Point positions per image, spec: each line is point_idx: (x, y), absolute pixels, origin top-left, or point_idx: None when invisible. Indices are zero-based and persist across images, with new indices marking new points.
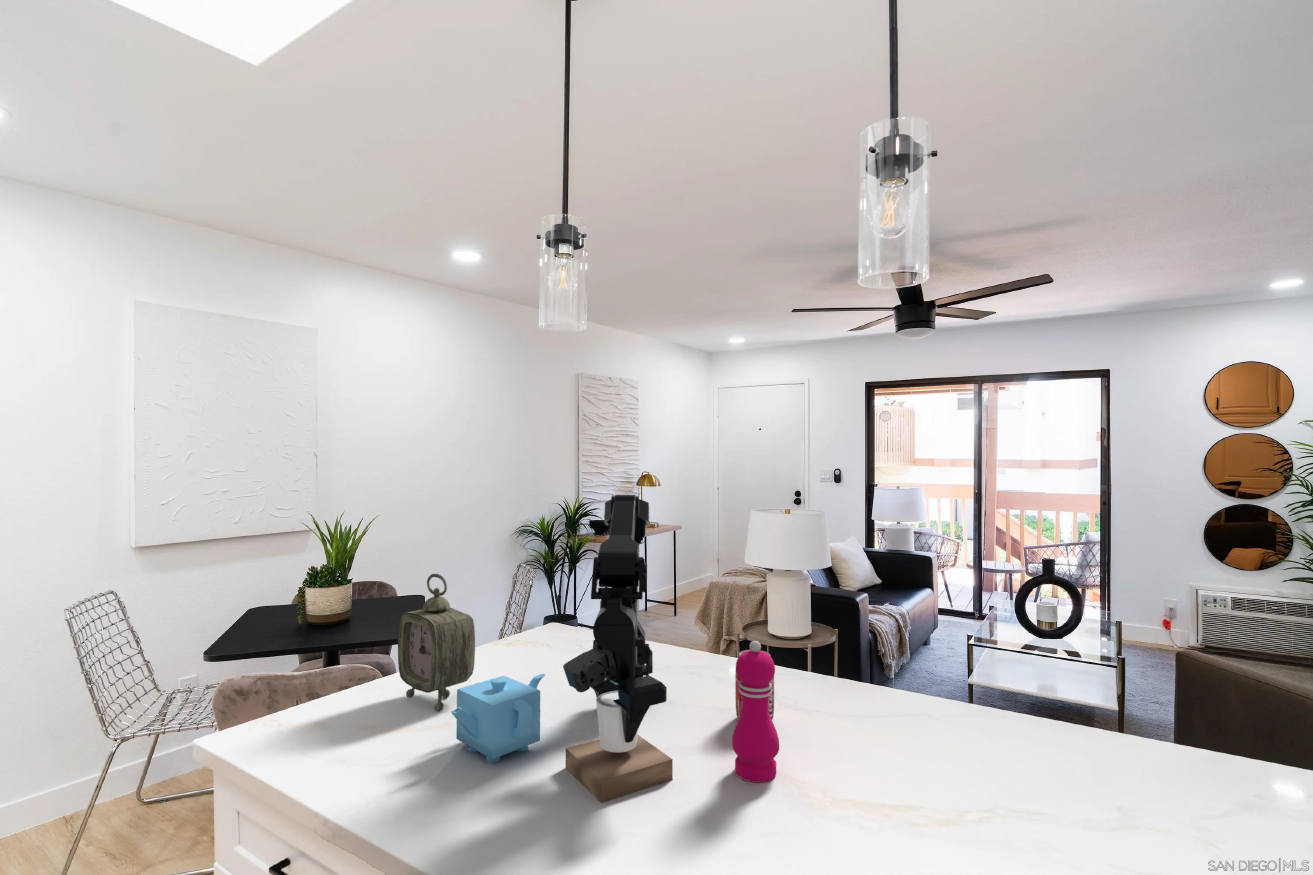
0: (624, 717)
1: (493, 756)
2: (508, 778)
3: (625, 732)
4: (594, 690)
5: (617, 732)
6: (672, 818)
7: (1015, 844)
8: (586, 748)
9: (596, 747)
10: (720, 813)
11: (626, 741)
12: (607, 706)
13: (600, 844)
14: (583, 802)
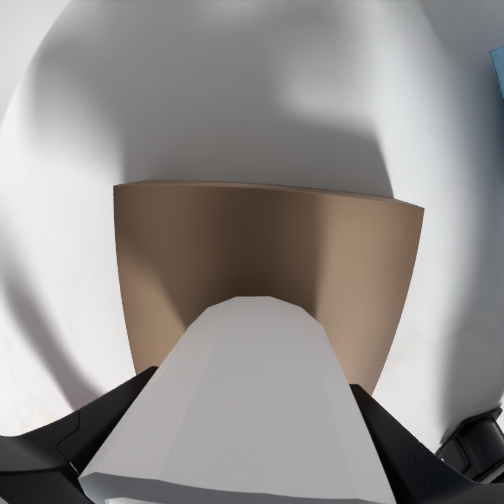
0: (61, 429)
1: (494, 54)
2: (420, 46)
3: (121, 387)
4: (470, 489)
5: (157, 372)
6: (43, 278)
7: (7, 426)
8: (371, 271)
9: (352, 305)
10: (43, 344)
11: (149, 367)
12: (114, 473)
13: (36, 115)
14: (173, 137)
